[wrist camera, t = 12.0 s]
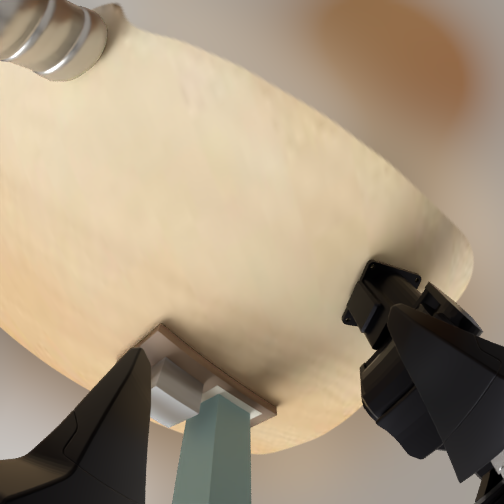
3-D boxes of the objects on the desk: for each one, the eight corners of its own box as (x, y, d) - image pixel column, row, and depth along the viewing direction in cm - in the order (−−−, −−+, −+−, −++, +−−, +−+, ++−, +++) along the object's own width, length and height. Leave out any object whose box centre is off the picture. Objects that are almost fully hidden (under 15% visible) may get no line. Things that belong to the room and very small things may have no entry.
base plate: (161, 323, 24) (145, 359, 20) (276, 407, 29) (279, 442, 24) (116, 362, 26) (100, 394, 22) (223, 432, 31) (221, 463, 26)
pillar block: (218, 393, 26) (208, 503, 14) (250, 413, 28) (251, 514, 15) (188, 408, 27) (171, 506, 15) (219, 427, 29) (212, 518, 17)
